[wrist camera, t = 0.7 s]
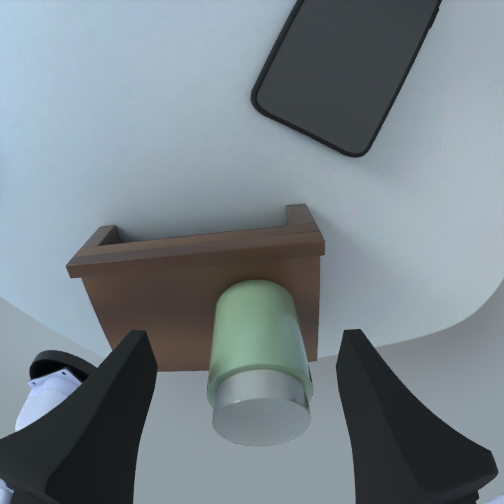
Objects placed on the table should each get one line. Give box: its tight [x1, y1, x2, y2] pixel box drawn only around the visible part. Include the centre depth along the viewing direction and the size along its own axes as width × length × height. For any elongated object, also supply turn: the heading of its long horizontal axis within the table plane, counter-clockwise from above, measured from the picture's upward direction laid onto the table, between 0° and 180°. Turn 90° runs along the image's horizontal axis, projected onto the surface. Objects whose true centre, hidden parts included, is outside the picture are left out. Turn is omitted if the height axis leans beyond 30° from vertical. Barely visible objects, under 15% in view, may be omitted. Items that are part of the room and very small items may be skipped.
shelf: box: [66, 204, 325, 372], centre depth 19 cm, size 9×13×5 cm
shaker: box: [207, 279, 313, 446], centre depth 14 cm, size 4×4×7 cm
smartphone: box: [251, 0, 442, 157], centre depth 13 cm, size 7×1×15 cm
